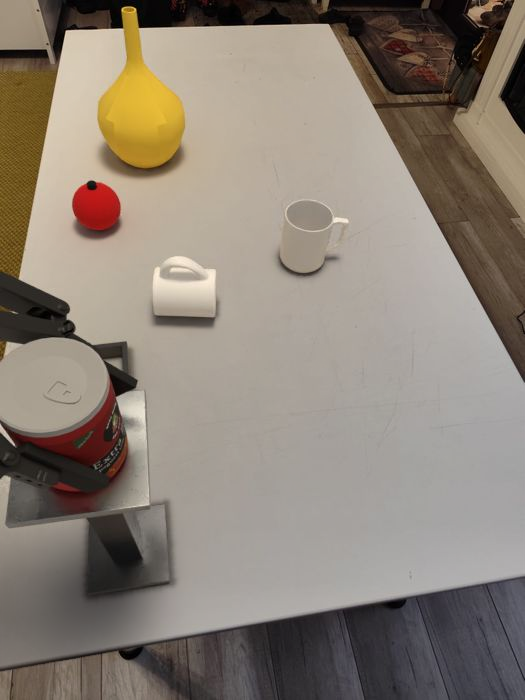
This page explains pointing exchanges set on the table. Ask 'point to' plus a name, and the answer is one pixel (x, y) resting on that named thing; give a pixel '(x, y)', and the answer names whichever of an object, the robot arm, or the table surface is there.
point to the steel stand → (109, 513)
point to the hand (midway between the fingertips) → (113, 433)
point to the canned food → (63, 404)
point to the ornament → (96, 205)
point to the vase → (140, 108)
